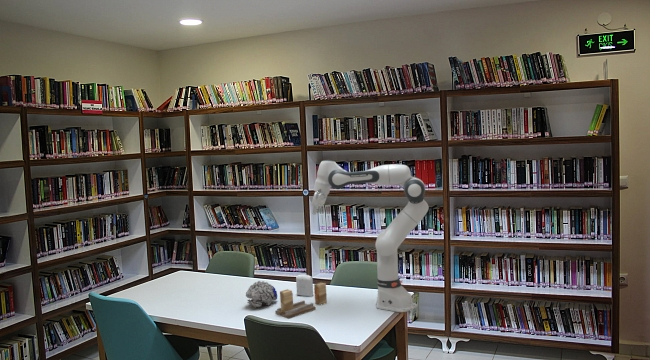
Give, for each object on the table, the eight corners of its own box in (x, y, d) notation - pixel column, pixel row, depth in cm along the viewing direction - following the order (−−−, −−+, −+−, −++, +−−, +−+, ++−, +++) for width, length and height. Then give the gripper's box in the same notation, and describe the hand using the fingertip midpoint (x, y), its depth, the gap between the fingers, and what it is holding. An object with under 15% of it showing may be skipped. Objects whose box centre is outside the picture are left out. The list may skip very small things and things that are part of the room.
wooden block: (326, 302, 290) (325, 283, 289) (319, 305, 286) (318, 285, 285) (322, 301, 293) (321, 282, 292) (314, 303, 289) (313, 284, 288)
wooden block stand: (315, 309, 279) (314, 286, 278) (289, 318, 268) (287, 294, 267) (301, 305, 288) (300, 283, 287) (275, 313, 277) (273, 290, 276)
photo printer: (314, 295, 306) (313, 274, 305) (310, 297, 302) (309, 276, 301) (299, 293, 311) (298, 273, 310) (295, 295, 307) (294, 274, 306)
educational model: (278, 313, 294) (284, 287, 298) (256, 307, 279) (263, 279, 283) (259, 309, 302) (266, 283, 306) (237, 303, 286) (244, 276, 291)
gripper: (323, 191, 271) (317, 217, 272) (330, 189, 291) (324, 213, 293) (312, 188, 272) (306, 213, 274) (319, 186, 292) (314, 210, 294)
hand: (315, 213), depth 283 cm, fingers open, 8 cm apart
